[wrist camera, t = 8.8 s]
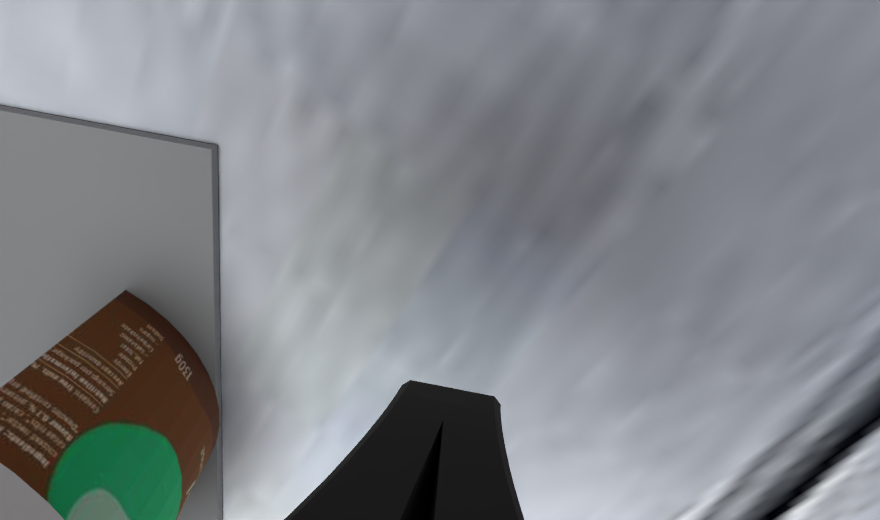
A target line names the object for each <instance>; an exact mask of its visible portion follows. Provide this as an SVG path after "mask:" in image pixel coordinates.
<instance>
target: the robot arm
mask: <svg viewBox="0 0 880 520" xmlns="http://www.w3.org/2000/svg"><path fill="white" fill-rule="evenodd" d="M500 406H501V405H500V403H499V402H498V401H497V399H496V398H495V397H494V396H489V395H484V394H479V393H474V392H469V391H464V390H458V389H453V388H448V387H443V386H438V385H433V384H427V383H422V382H417V381H412V380H410V381H408V382H407V383H405V384H403V385H402V386H401V388H400V389H399V391H398V392H397V394H396V396H395V397H394V398H393V400H392V401H391V403H390V404H389V406H388V407H387V408H386V410H385V411H384V412H383V414H382V415H381V416H380V417H379V419H378V420H377V421H376V422H375V424H374V425H373V426H372V427H371V429H370V430H369V431H368V432H367V433H366V435H365V436H364V437H363V438H362V440H361V441H360V442H359V443H358V444H357V445H356V446H355V447H354V448H353V450H352V451H351V452H350V453H349V454H348V455H347V456H346V457H345V458H344V460H343V461H342V462H341V463H340V464H339V465H338V466H337V467H336V469H335V470H334V471H333V472H332V473H331V474H330V475H329V476H328V477H327V478H326V479H325V480H324V481H323V482H322V483H321V484H320V485H319V486H318V487H317V488H316V489H315V490H314V491H313V492H312V493H311V494H310V495H309V496H308V497H307V498H306V499H305V500H304V501H303V502H302V503H301V504H300V505H299V506H298V507H297V508H296V509H295V510H294V511H293V512H292V513H291V514H290V515H289V516H288V517H286V518H285V519H284V520H524V518H523V515H522V511H521V508H520V504H519V501H518V497H517V494H516V491H515V487H514V484H513V480H512V476H511V472H510V468H509V463H508V458H507V454H506V449H505V444H504V438H503V432H502V425H501V412H500Z"/></svg>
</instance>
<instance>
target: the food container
mask: <svg viewBox="0 0 880 520" xmlns="http://www.w3.org/2000/svg"><path fill="white" fill-rule="evenodd" d="M219 427H220V417H219V405H218V400H217V396H216V391H215V389H214V386H213V384H212V381H211V379H210V376H209V373H208V372H207V370H206V368H205V366H204V365H203V363H202V361H201V359H200V358H199V356H198V354H197V353H196V352H195V350H194V349H193V348H192V347H191V345H190V344H189V343H188V341H187V340H186V339H185V337H184V336H183V335H182V334H181V333H180V332H179V331H178V330H177V329H176V328H175V327H174V326H173V325H172V324H171V323H170V322H169V321H168V320H167V319H166V318H165V317H163V316H162V315H161V314H160V313H158V312H157V311H156V310H155V309H154V308H152V307H151V306H150V305H149V304H147V303H146V302H144V301H142V300H141V299H139V298H138V297H136V296H135V295H133V294H131V293H130V292H128V291H127V290H124V291H123V292H122V293H121V294H119V295H118V296H117V297H115V298H114V299H113V300H112V301H110V302H109V303H108V304H106V305H105V306H104V307H103V308H101V309H100V310H99V311H98V312H96V313H95V314H94V315H92V316H91V317H90V318H89V319H87V320H86V321H85V322H84V323H82V324H81V325H80V326H78V327H77V328H76V329H75V330H73V331H72V332H71V333H70V334H68V335H67V336H66V337H64V338H63V339H62V340H61V341H59V342H58V343H57V344H55V345H54V346H53V347H52V348H50V349H49V350H48V351H47V352H45V353H44V354H43V355H41V356H40V357H39V358H38V359H36V360H35V361H34V362H33V363H31V364H30V365H29V366H27V367H26V368H25V369H24V370H22V371H21V372H20V373H19V374H17V375H16V376H15V377H13V378H12V379H11V380H10V381H8V382H7V383H6V384H4V385H3V386H2V387H1V388H0V520H177V518H178V516H179V514H180V512H181V510H182V508H183V506H184V504H185V502H186V500H187V499H188V497H189V495H190V493H191V491H192V489H193V487H194V485H195V483H196V481H197V480H198V478H199V476H200V474H201V472H202V470H203V468H204V466H205V464H206V462H207V461H208V459H209V457H210V455H211V453H212V450H213V448H214V446H215V444H216V441H217V437H218V432H219Z"/></svg>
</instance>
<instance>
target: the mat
mask: <svg viewBox="0 0 880 520" xmlns="http://www.w3.org/2000/svg"><path fill="white" fill-rule="evenodd" d="M124 290H127V291H128V292H130V293H131V294H133V295H135V296H136V297H138V298H139V299H141V300H142V301H144V302H146V303H147V304H149V305H150V306H151V307H152V308H154V309H155V310H156V311H157V312H158V313H160V314H161V315H162V316H163V317H165V318H166V319H167V320H168V321H169V322H170V323H171V324H172V325H173V326H174V327H175V328H176V329H177V330H178V331H179V332H180V333H181V334H182V335H183V336H184V337H185V339H186V340H187V341H188V343H189V344H190V345H191V347H192V348H193V349H194V350H195V352H196V353H197V354H198V356H199V358H200V359H201V361H202V363H203V365H204V366H205V368H206V370H207V372H208V373H209V376H210V379H211V381H212V384H213V386H214V389H215V391H216V396H217V400H218V405H219V417H220V427H219V432H218V437H217V441H216V444H215V446H214V448H213V450H212V453H211V455H210V457H209V459H208V461H207V462H206V464H205V466H204V468H203V470H202V472H201V474H200V476H199V478H198V480H197V481H196V483H195V485H194V487H193V489H192V491H191V493H190V495H189V497H188V499H187V500H186V502H185V504H184V506H183V508H182V510H181V512H180V514H179V516H178V518H177V520H223V503H222V430H221V358H220V285H219V213H218V145H214V144H208V143H203V142H197V141H192V140H187V139H181V138H176V137H170V136H165V135H159V134H154V133H149V132H143V131H138V130H132V129H127V128H122V127H116V126H111V125H105V124H100V123H94V122H89V121H84V120H78V119H73V118H67V117H62V116H56V115H51V114H46V113H40V112H35V111H29V110H24V109H18V108H13V107H8V106H2V105H0V388H1V387H2V386H3V385H4V384H6V383H7V382H8V381H10V380H11V379H12V378H13V377H15V376H16V375H17V374H19V373H20V372H21V371H22V370H24V369H25V368H26V367H27V366H29V365H30V364H31V363H33V362H34V361H35V360H36V359H38V358H39V357H40V356H41V355H43V354H44V353H45V352H47V351H48V350H49V349H50V348H52V347H53V346H54V345H55V344H57V343H58V342H59V341H61V340H62V339H63V338H64V337H66V336H67V335H68V334H70V333H71V332H72V331H73V330H75V329H76V328H77V327H78V326H80V325H81V324H82V323H84V322H85V321H86V320H87V319H89V318H90V317H91V316H92V315H94V314H95V313H96V312H98V311H99V310H100V309H101V308H103V307H104V306H105V305H106V304H108V303H109V302H110V301H112V300H113V299H114V298H115V297H117V296H118V295H119V294H121V293H122V292H123V291H124Z"/></svg>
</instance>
